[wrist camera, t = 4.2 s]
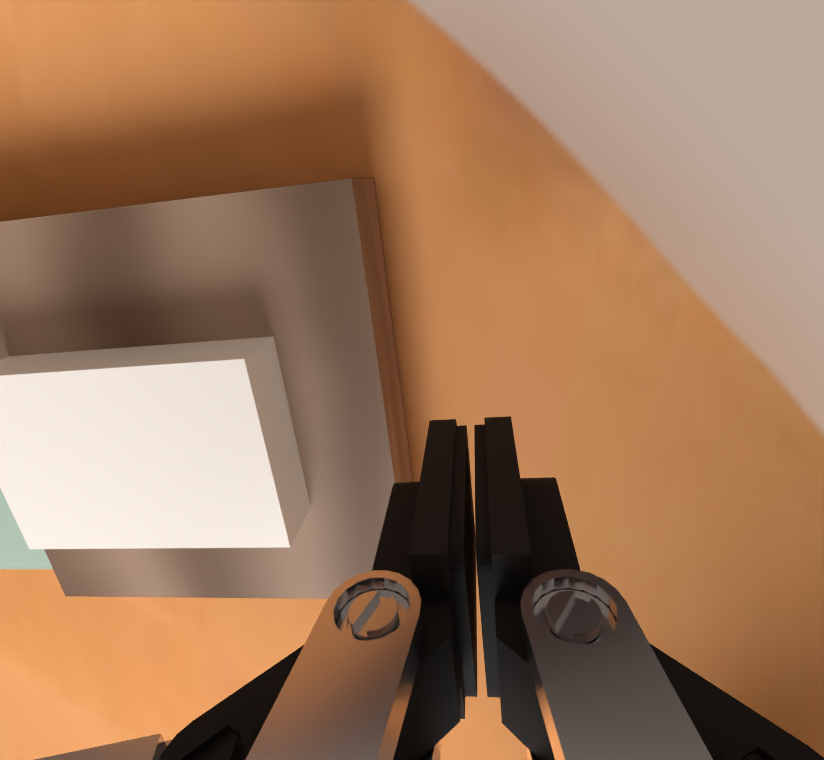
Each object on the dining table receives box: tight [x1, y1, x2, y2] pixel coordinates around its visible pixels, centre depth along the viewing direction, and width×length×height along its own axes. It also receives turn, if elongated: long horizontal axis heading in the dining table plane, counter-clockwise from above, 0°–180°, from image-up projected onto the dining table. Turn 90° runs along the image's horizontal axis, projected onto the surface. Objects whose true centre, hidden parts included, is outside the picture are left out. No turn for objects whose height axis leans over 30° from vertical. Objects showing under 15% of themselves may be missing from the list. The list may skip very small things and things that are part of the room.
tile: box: [0, 336, 311, 549], centre depth 16 cm, size 9×6×2 cm, turn 97°
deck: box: [0, 178, 413, 599], centre depth 18 cm, size 14×14×3 cm
